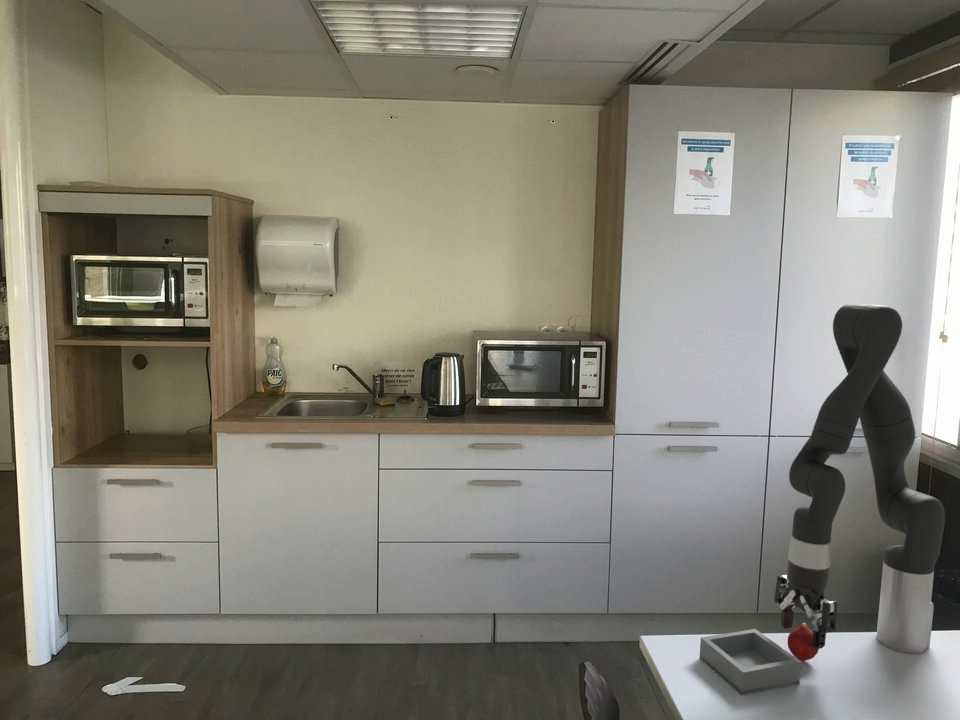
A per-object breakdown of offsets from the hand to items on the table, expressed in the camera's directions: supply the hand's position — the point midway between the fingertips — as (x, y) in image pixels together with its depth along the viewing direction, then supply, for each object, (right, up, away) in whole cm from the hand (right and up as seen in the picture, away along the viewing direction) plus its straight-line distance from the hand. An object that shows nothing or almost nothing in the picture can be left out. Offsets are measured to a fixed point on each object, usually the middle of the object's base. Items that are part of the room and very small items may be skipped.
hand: (801, 637), depth 144 cm
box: (-12, -5, -3) cm, 14 cm away
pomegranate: (0, -5, +1) cm, 5 cm away
